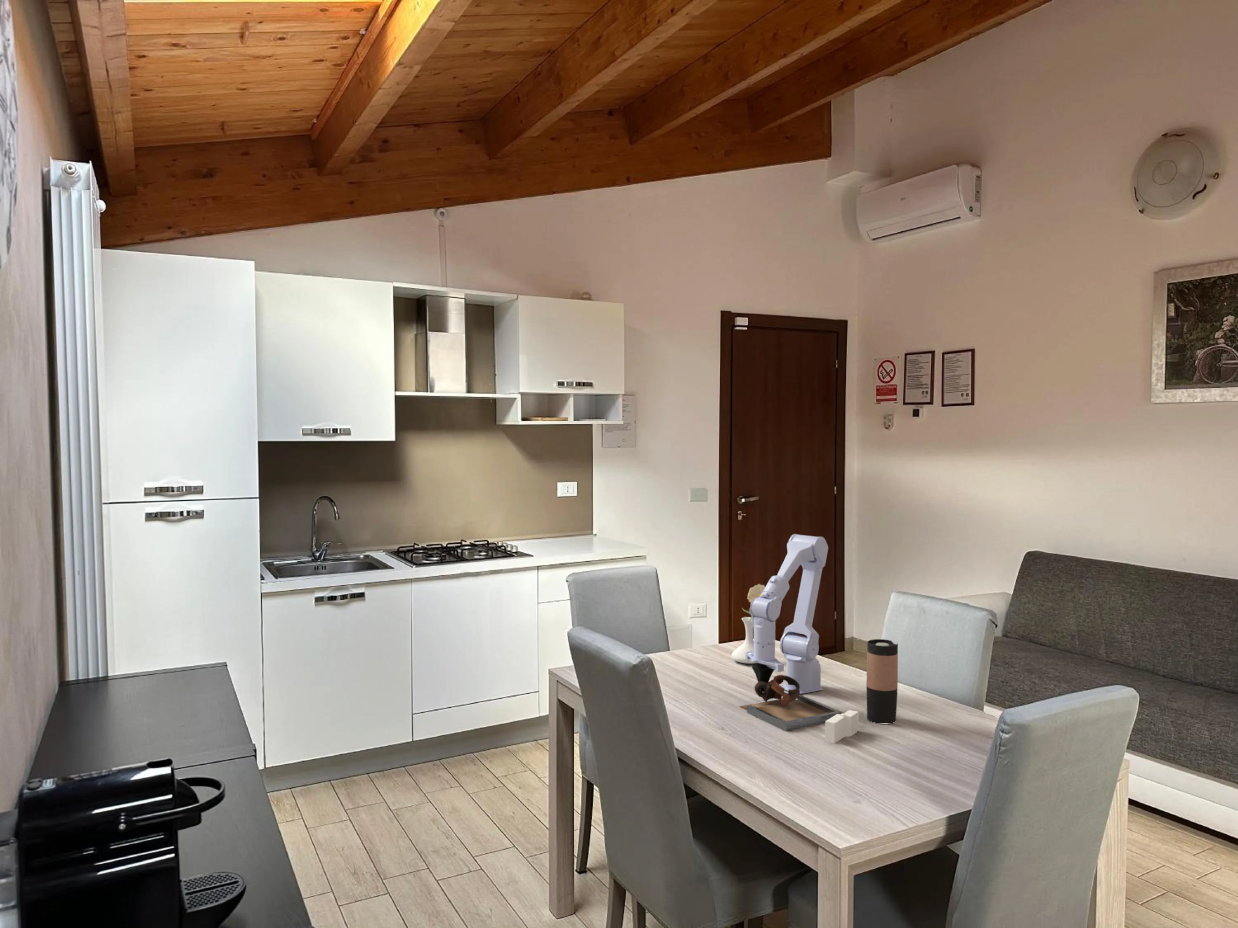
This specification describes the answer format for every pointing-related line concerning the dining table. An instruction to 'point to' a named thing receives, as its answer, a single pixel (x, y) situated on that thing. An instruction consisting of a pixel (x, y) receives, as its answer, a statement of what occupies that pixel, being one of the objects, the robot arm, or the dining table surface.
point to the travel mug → (882, 680)
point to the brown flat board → (787, 709)
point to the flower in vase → (748, 628)
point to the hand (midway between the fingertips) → (763, 691)
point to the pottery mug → (778, 689)
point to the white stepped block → (841, 726)
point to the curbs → (797, 722)
